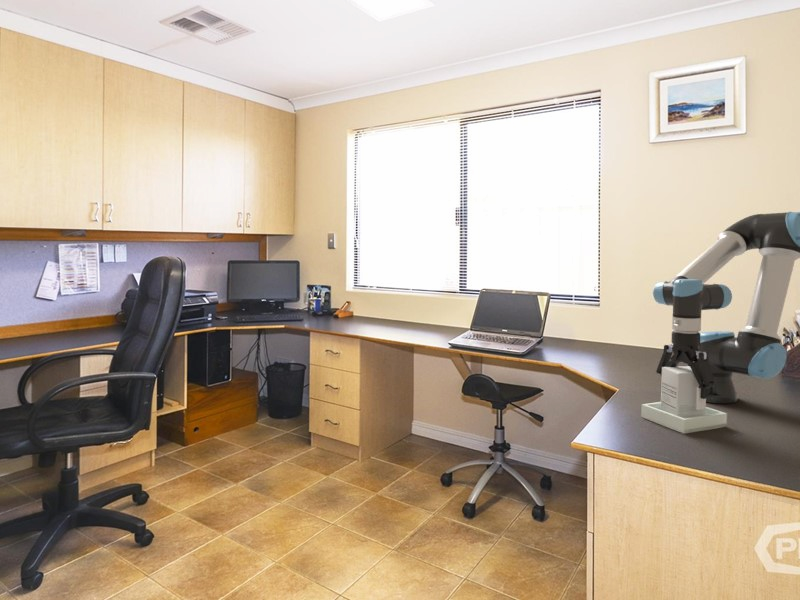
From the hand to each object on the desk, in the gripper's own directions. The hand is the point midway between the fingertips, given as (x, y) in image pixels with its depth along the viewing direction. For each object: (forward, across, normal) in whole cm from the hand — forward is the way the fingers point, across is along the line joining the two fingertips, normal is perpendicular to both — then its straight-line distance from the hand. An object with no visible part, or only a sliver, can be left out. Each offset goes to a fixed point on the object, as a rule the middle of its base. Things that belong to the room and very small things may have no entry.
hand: (683, 403), depth 159 cm
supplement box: (+5, 0, 0) cm, 5 cm away
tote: (+6, 0, 0) cm, 6 cm away
